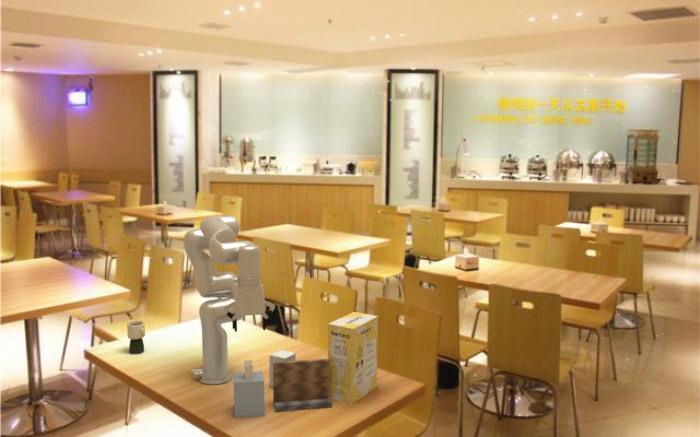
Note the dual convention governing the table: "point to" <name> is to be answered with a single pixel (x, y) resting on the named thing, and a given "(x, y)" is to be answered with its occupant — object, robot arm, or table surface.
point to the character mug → (136, 336)
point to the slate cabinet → (248, 392)
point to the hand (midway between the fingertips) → (249, 329)
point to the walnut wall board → (301, 385)
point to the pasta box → (352, 356)
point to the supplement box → (279, 357)
